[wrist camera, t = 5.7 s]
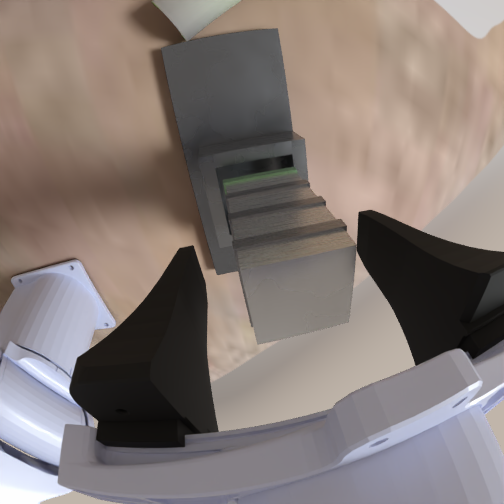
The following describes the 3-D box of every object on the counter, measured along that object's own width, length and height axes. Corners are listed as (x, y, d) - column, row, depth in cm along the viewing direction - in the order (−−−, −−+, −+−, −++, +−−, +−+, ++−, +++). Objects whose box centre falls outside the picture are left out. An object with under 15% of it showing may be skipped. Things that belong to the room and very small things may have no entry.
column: (235, 241, 17) (255, 346, 10) (222, 179, 14) (236, 268, 8) (299, 228, 17) (351, 323, 10) (294, 166, 14) (359, 241, 8)
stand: (216, 269, 23) (219, 304, 20) (163, 49, 14) (150, 40, 10) (300, 251, 23) (316, 283, 20) (274, 30, 14) (292, 18, 10)
